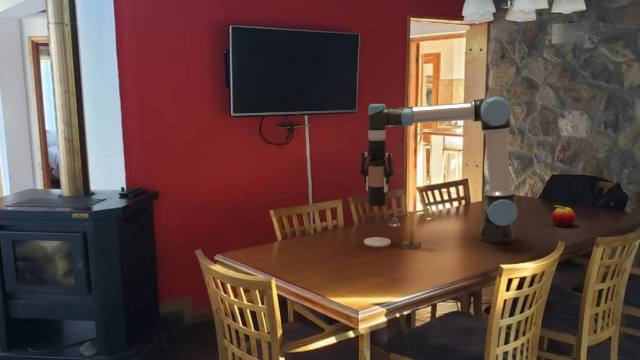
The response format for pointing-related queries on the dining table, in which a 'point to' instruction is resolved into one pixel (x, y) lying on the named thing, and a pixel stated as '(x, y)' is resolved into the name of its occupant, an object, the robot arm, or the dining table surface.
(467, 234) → the dining table surface
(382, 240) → the cream round disc
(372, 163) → the travel mug
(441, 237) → the dining table surface
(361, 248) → the dining table surface
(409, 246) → the balance
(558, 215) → the fruit
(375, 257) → the dining table surface
